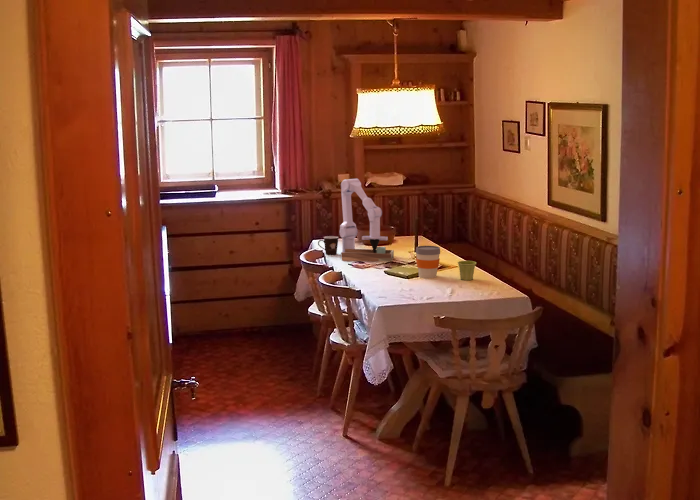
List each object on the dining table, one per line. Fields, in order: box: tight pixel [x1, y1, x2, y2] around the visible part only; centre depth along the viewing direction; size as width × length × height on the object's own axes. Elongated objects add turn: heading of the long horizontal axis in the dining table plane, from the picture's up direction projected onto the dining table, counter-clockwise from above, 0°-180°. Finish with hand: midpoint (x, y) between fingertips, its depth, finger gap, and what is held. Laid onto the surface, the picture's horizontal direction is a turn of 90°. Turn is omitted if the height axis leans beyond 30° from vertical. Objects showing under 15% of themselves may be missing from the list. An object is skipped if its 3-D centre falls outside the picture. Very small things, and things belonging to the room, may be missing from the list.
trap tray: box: [341, 248, 395, 262], centre depth 485 cm, size 13×28×4 cm, turn 81°
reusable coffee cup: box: [415, 245, 441, 279], centre depth 437 cm, size 12×13×15 cm
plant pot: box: [457, 260, 477, 281], centre depth 431 cm, size 9×9×9 cm
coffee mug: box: [317, 235, 339, 256], centre depth 500 cm, size 12×9×10 cm
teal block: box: [376, 246, 387, 253], centre depth 486 cm, size 4×4×4 cm
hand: (374, 252), depth 486 cm, fingers closed
